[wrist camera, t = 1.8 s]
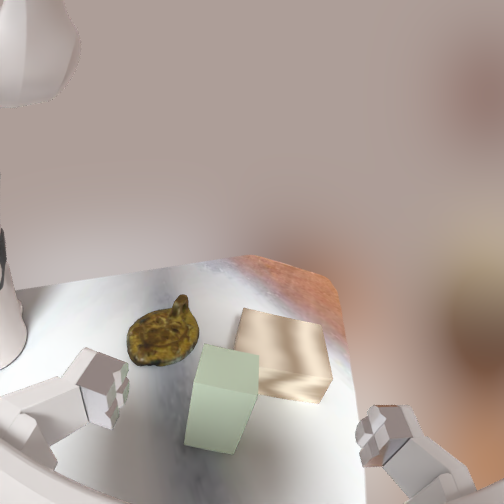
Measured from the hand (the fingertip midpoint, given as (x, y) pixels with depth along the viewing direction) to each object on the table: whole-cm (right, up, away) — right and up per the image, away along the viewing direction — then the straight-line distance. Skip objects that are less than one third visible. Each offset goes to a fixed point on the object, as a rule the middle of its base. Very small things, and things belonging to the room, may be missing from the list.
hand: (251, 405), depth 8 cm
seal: (-12, -8, +31) cm, 34 cm away
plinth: (+3, -11, +31) cm, 33 cm away
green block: (-4, -14, +18) cm, 23 cm away
